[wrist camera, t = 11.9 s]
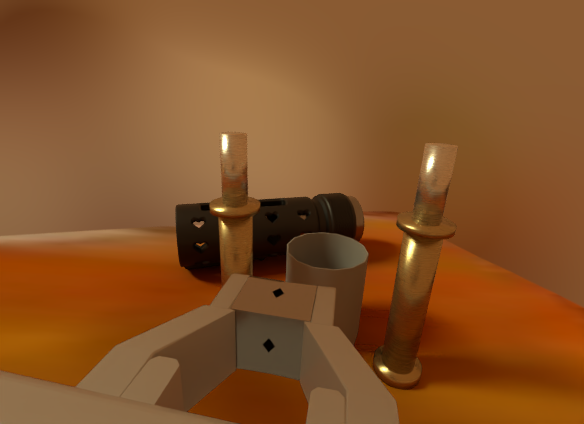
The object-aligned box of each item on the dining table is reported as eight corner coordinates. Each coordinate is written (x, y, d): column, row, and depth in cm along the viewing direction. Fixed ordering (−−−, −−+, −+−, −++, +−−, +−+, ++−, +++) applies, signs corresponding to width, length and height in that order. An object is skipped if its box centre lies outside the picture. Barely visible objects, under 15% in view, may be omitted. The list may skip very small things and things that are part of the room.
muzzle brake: (182, 254, 50) (176, 194, 47) (337, 238, 59) (342, 185, 55) (181, 287, 42) (174, 216, 38) (362, 262, 50) (370, 202, 47)
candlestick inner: (210, 355, 31) (195, 134, 23) (227, 325, 35) (218, 129, 27) (253, 363, 30) (251, 138, 23) (264, 331, 34) (266, 132, 27)
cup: (320, 296, 41) (325, 227, 37) (372, 330, 35) (384, 252, 32) (269, 323, 35) (270, 245, 32) (320, 369, 30) (328, 280, 26)
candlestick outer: (374, 384, 28) (416, 147, 21) (371, 348, 32) (405, 139, 25) (424, 393, 28) (486, 151, 20) (415, 355, 32) (463, 143, 24)
